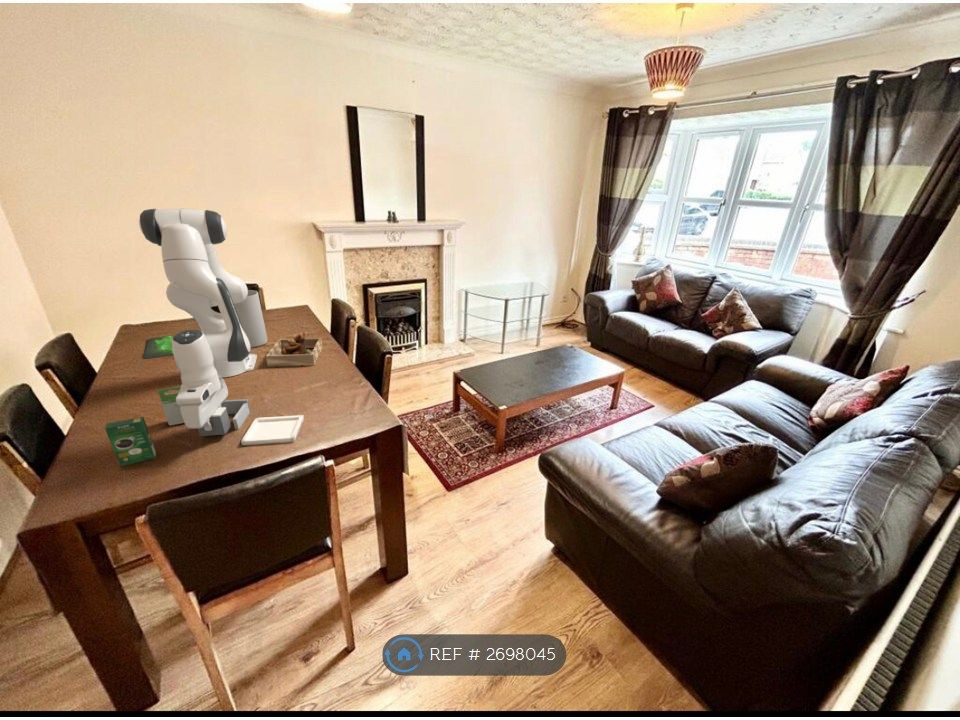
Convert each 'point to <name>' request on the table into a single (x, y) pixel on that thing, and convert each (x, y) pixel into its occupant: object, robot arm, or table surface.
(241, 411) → the bay
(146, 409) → the table surface
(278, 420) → the tray
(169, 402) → the ink box
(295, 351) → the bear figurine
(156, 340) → the mouse mat
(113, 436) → the coffee box
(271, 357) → the crate
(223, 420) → the upright white block
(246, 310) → the cylinder vase
